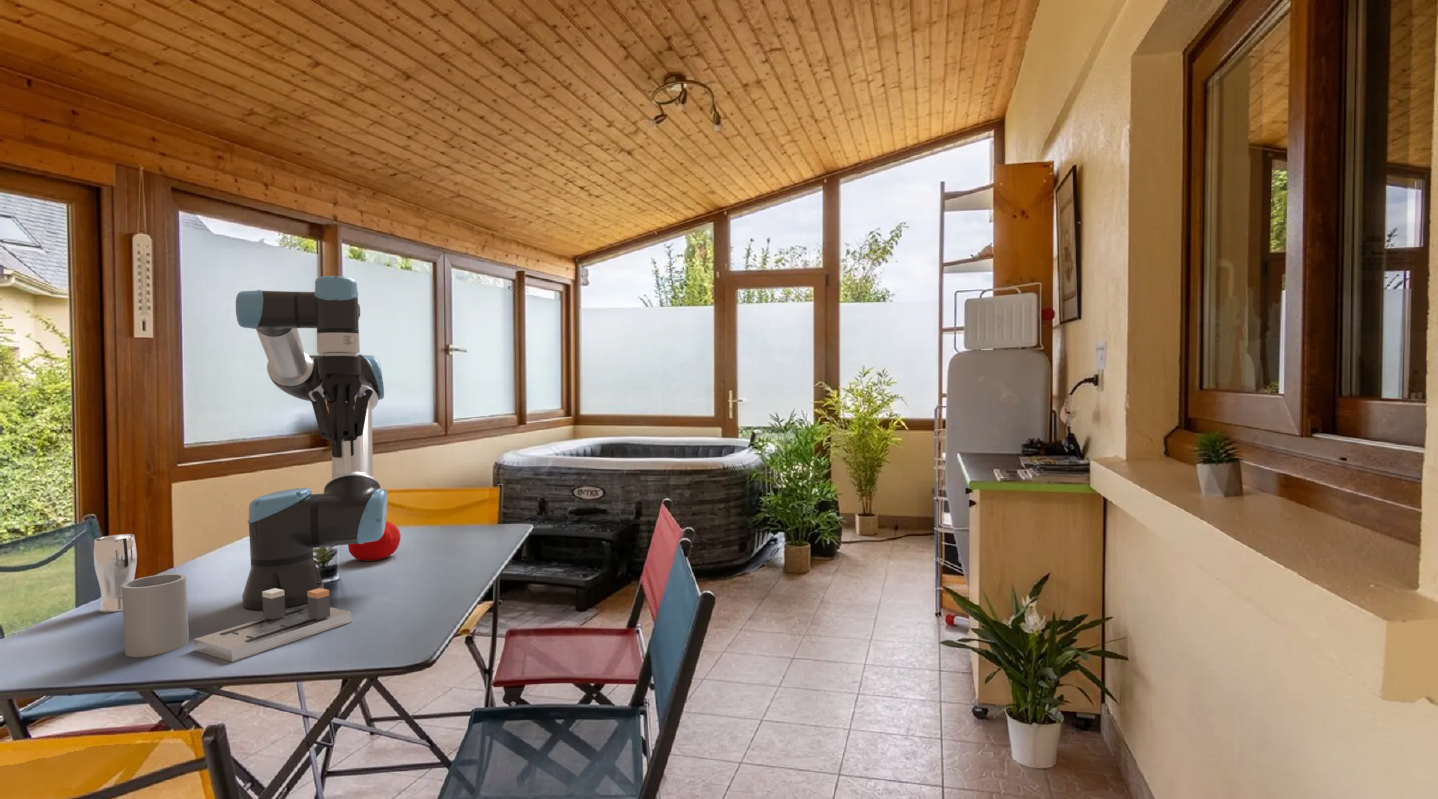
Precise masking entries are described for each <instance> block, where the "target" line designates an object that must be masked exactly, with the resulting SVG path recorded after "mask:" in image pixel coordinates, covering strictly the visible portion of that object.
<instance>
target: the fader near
mask: <svg viewBox="0 0 1438 799" xmlns="http://www.w3.org/2000/svg"><path fill="white" fill-rule="evenodd" d="M307 596H308V603H307V605H308V618H312V619H317V620H319V619H323V618H326V617H329V616H330V607H331V601H330V589H327V588H324V589H322V588H318V589H314V590H311V591H307Z"/></svg>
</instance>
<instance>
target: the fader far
mask: <svg viewBox="0 0 1438 799" xmlns="http://www.w3.org/2000/svg"><path fill="white" fill-rule="evenodd" d="M262 597H263V610H262V614H263V615H262V617H263V618H267V619H271V620H274V619H277V618H281V617H284V616H285V612H286V608H285V596H284V590H281V589H276V588H274V589H270V590H266V591H263V592H262ZM263 618H262V619H263Z"/></svg>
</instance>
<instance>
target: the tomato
mask: <svg viewBox="0 0 1438 799" xmlns="http://www.w3.org/2000/svg"><path fill="white" fill-rule="evenodd" d="M401 536H402V535H401V532H400V529H399V528H398V527H397V525H396V524H394V523H392V521H391V522H390V521H389V520H387V519H386V524H385V530H384V534H383V536H382V537H381V538H380V539H379V540H377V541H372V542H365V543H363V544H359V543H358V544H348V545H347V547H348V552H349V554H351V556H352V557H353V558H354V559H356V560H358V561H364V562H368V561H369V562H372V561H373V562H375V561H378V560H382V559H386V558H388V557H390V556H391V555H393V554H394V553H395V552H396V551H397V549H398V548H399V546H400V543H401V538H402V537H401Z"/></svg>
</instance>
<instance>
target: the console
mask: <svg viewBox="0 0 1438 799" xmlns="http://www.w3.org/2000/svg"><path fill="white" fill-rule="evenodd" d="M352 619H353V618H352V611H351V610H345V609H340V608H336V607H331V606H330V616H329V617H326V618H323V619H319V620H317V619H312V618H308V604H306V605H303V606H300V607H297V608H294V609H290V610H287V611H286V610H285V616H284V617H281V618H277V619H274V620H271V619H267V618H260V619H256V620H254V621H250V622H246V623H244V624H239V625H236V626H233V627H230V628H227V629H223V630H220V631H216V632H214V633H209V634H207V635H203V636H200V637H195V638H194V639H193V650H194V651H195V652H198V653H202V654H205V655H208V656H212V657H214V658H218V659H221V660H225V661H227V662H231V663H234V662H236V661H237V662H238V661H240V660H242V659H246V658H248V657H252V656H255V655H258V654H260V653H263V652H266V651H269V650H272V649H275V648H278V647H281V646H284V645H287V644H289V643H293V642H297V641H299V640H303V639H305V638H308V637H312V636H313V635H316V634H320V633H323V632H326V631H329V630H333V629H334V628H338V627H340V626H343V625H346V624H350V623H352V622H353V621H352Z"/></svg>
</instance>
